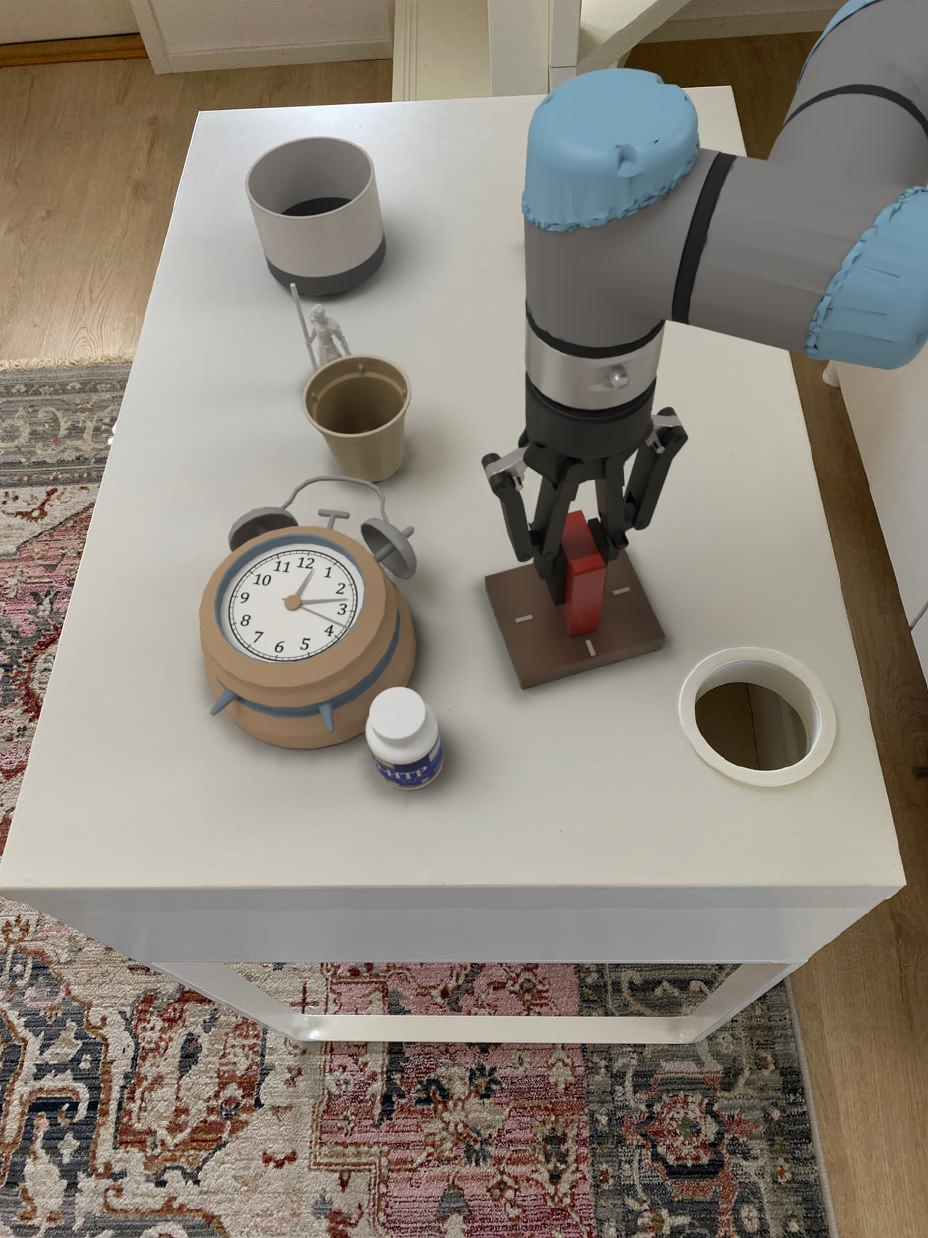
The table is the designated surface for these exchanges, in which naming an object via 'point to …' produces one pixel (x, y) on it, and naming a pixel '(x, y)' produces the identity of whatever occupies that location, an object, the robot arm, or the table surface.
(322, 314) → the figurine
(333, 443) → the flower pot
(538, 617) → the base plate
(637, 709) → the table surface
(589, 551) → the red rectangular block
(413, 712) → the pill bottle
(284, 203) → the planter
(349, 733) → the alarm clock
